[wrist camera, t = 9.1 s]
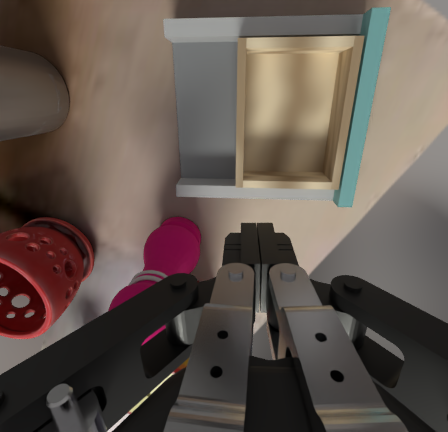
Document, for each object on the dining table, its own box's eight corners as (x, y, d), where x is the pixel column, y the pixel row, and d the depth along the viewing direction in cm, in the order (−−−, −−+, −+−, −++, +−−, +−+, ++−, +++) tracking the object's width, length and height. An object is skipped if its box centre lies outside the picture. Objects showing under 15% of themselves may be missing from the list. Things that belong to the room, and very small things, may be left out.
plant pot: (29, 193, 40) (-54, 231, 29) (114, 237, 42) (66, 288, 31) (11, 259, 45) (-66, 312, 34) (87, 295, 46) (37, 357, 36)
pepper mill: (155, 209, 39) (74, 310, 21) (206, 216, 39) (169, 324, 21) (155, 253, 42) (83, 375, 24) (202, 260, 42) (167, 388, 24)
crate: (237, 175, 35) (235, 187, 30) (239, 46, 29) (237, 37, 25) (326, 177, 34) (338, 189, 30) (346, 45, 29) (364, 35, 24)
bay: (183, 186, 37) (172, 202, 32) (173, 28, 30) (157, 13, 25) (336, 190, 36) (351, 207, 30) (363, 24, 29) (390, 7, 23)
